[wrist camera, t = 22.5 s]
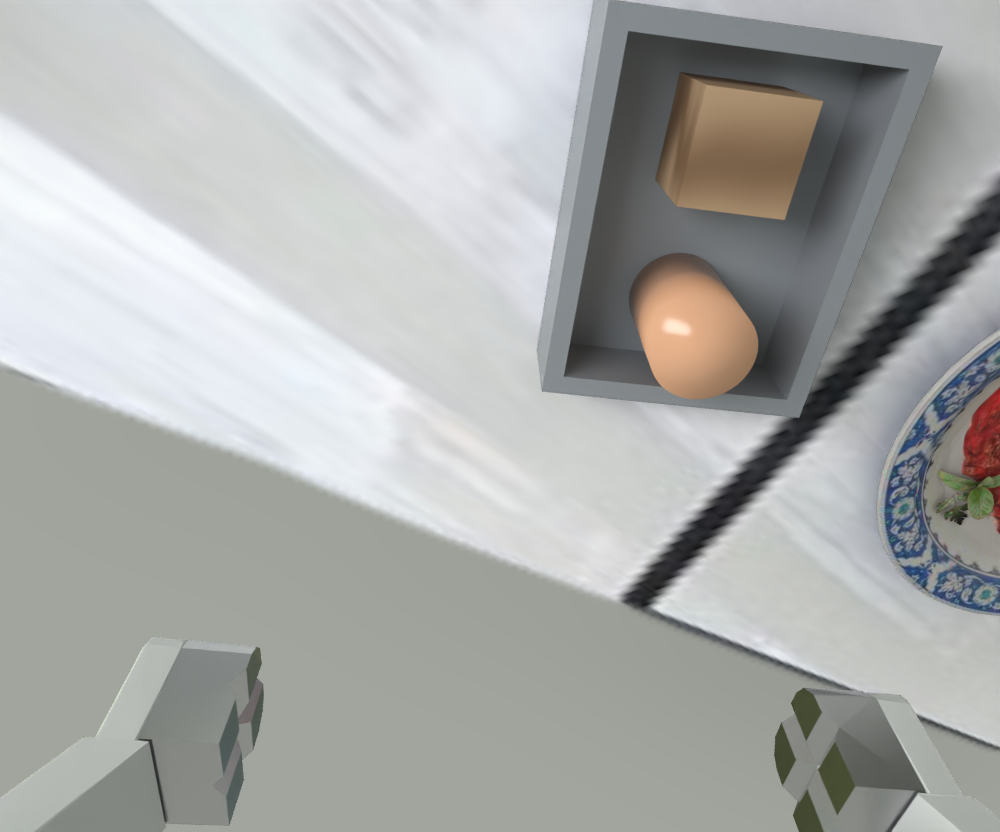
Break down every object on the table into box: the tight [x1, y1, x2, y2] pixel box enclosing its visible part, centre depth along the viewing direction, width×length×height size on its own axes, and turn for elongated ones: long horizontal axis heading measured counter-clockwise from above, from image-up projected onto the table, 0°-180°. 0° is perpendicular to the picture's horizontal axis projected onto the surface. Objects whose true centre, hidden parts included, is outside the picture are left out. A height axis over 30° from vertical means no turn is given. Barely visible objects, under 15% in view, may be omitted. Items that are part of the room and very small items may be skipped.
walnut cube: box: [655, 72, 823, 220], centre depth 33 cm, size 5×5×5 cm
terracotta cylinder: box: [629, 253, 758, 399], centre depth 37 cm, size 5×5×7 cm
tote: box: [537, 0, 943, 418], centre depth 36 cm, size 18×14×5 cm
